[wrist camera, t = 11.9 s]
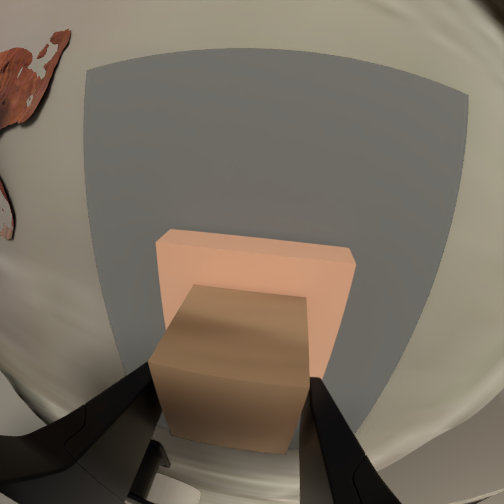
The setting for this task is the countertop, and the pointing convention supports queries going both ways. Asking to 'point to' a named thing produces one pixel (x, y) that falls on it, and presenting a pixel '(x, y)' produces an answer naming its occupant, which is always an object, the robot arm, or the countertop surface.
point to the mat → (275, 185)
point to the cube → (234, 368)
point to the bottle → (171, 491)
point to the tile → (261, 277)
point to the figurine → (23, 89)
